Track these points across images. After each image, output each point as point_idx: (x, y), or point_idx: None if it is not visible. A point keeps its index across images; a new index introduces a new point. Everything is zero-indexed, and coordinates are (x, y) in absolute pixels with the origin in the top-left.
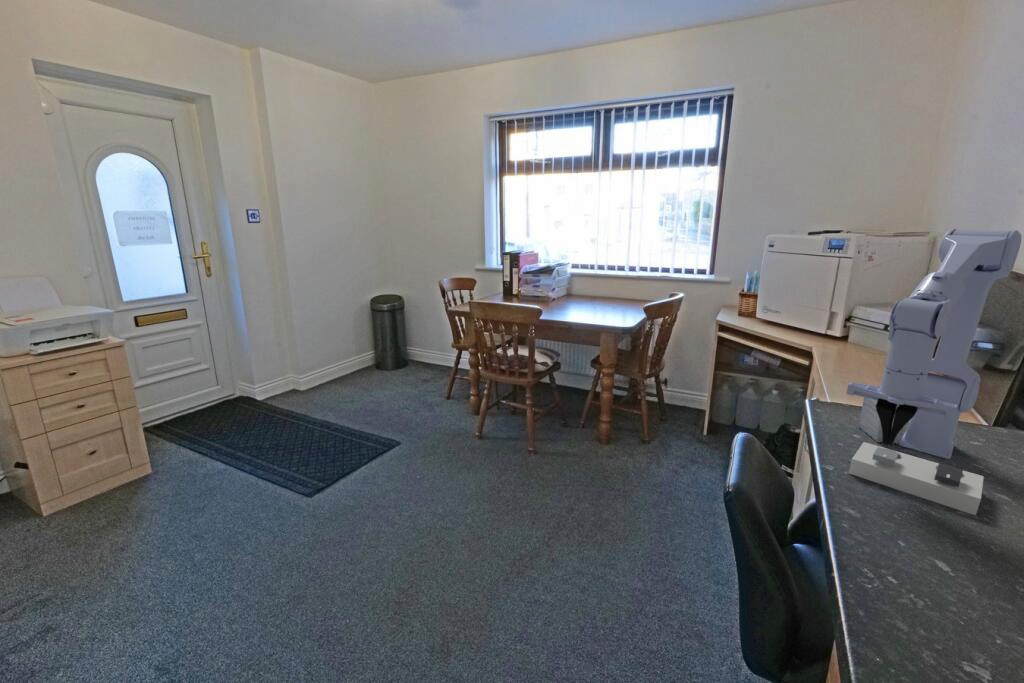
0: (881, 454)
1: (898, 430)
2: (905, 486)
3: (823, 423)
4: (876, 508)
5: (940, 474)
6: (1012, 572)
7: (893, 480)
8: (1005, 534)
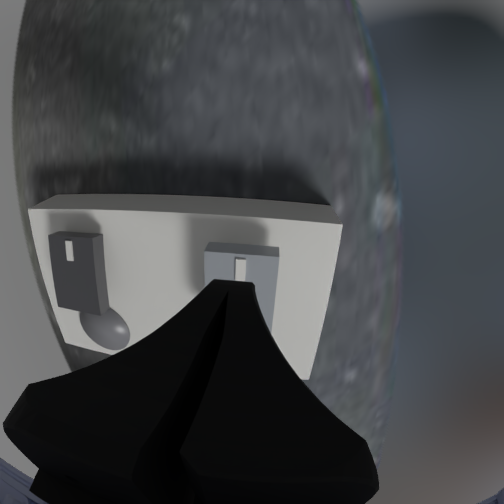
0: (252, 276)
1: (163, 325)
2: (175, 199)
3: (372, 431)
4: (231, 22)
5: (83, 248)
6: (23, 19)
7: (206, 203)
8: (21, 154)
